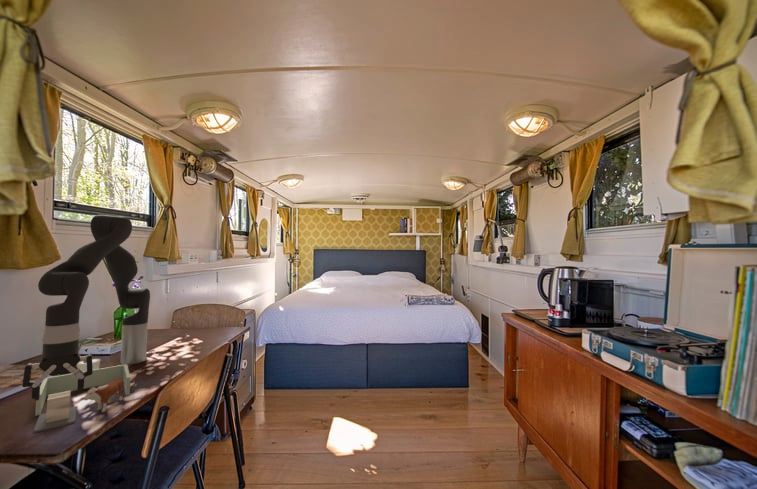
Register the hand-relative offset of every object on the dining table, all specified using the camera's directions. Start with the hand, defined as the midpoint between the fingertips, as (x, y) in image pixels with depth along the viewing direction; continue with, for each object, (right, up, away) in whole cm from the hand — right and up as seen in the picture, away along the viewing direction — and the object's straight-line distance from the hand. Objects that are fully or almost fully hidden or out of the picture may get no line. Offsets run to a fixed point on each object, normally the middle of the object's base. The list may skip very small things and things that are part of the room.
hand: (58, 395), depth 91 cm
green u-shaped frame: (-6, -8, +15) cm, 18 cm away
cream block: (0, -6, 0) cm, 6 cm away
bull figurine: (+8, -8, +7) cm, 13 cm away
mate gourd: (-29, -9, +33) cm, 44 cm away
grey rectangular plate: (0, -7, -1) cm, 7 cm away
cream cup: (-19, -8, +29) cm, 36 cm away
